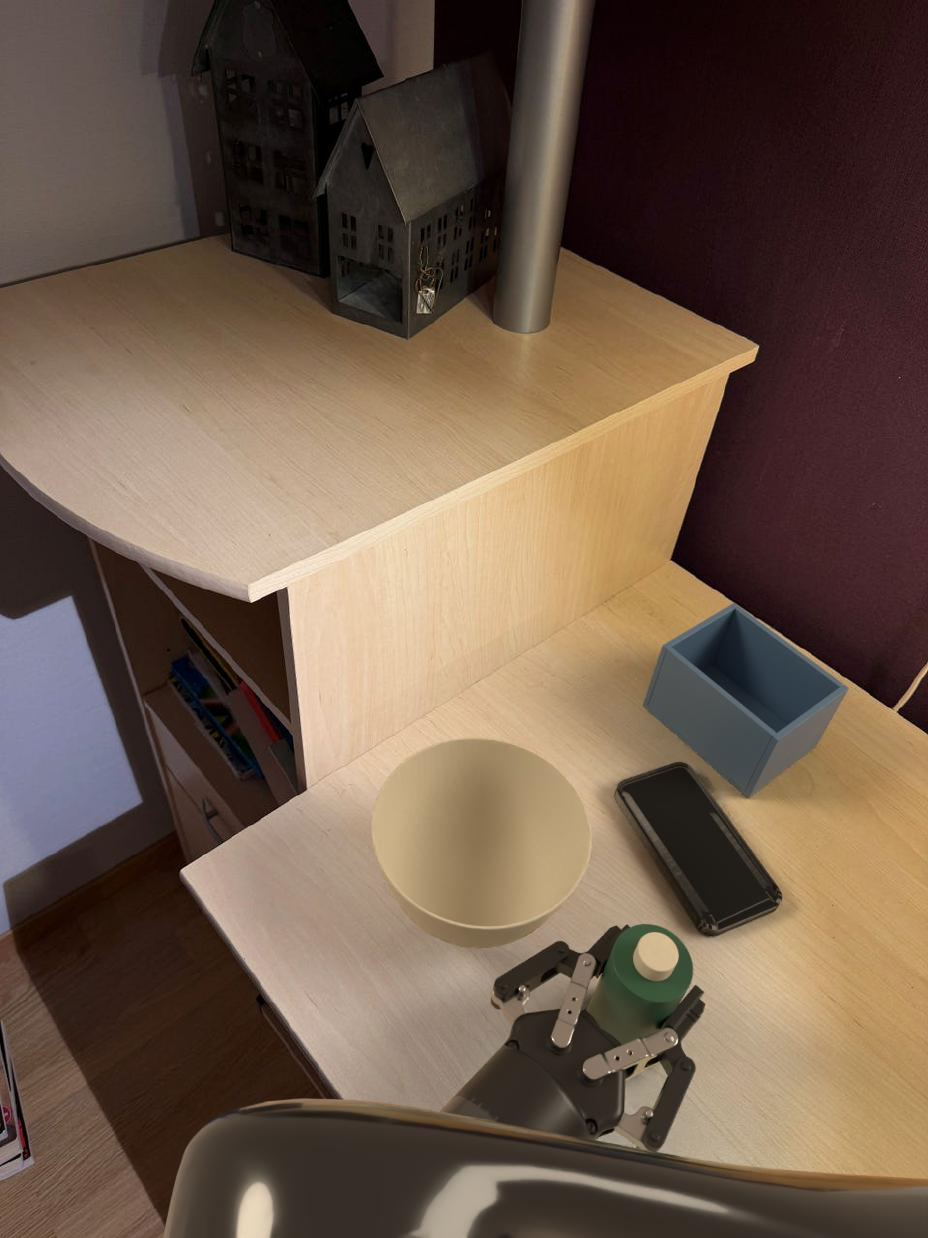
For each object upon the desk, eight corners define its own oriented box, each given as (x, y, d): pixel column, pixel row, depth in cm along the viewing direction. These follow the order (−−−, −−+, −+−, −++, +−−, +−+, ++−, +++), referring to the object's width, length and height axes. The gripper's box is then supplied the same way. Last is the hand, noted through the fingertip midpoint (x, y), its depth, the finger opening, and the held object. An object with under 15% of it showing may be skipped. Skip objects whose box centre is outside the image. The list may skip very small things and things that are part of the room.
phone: (708, 934, 70) (612, 783, 80) (704, 941, 71) (609, 790, 81) (789, 900, 73) (686, 758, 82) (785, 907, 74) (683, 765, 83)
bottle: (669, 1037, 66) (716, 960, 57) (619, 1082, 63) (660, 1009, 54) (618, 980, 68) (656, 898, 60) (568, 1021, 66) (600, 942, 57)
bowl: (435, 1033, 65) (444, 972, 58) (336, 859, 74) (332, 788, 67) (610, 928, 71) (637, 862, 64) (499, 780, 81) (511, 708, 74)
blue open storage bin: (816, 747, 86) (849, 688, 80) (748, 799, 81) (778, 740, 75) (710, 662, 93) (734, 602, 87) (642, 705, 88) (662, 645, 82)
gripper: (599, 1244, 47) (769, 1017, 56) (411, 1037, 54) (591, 864, 63) (576, 1274, 52) (735, 1061, 62) (407, 1082, 59) (574, 916, 68)
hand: (661, 962), depth 62 cm, fingers closed on bottle, 5 cm apart
